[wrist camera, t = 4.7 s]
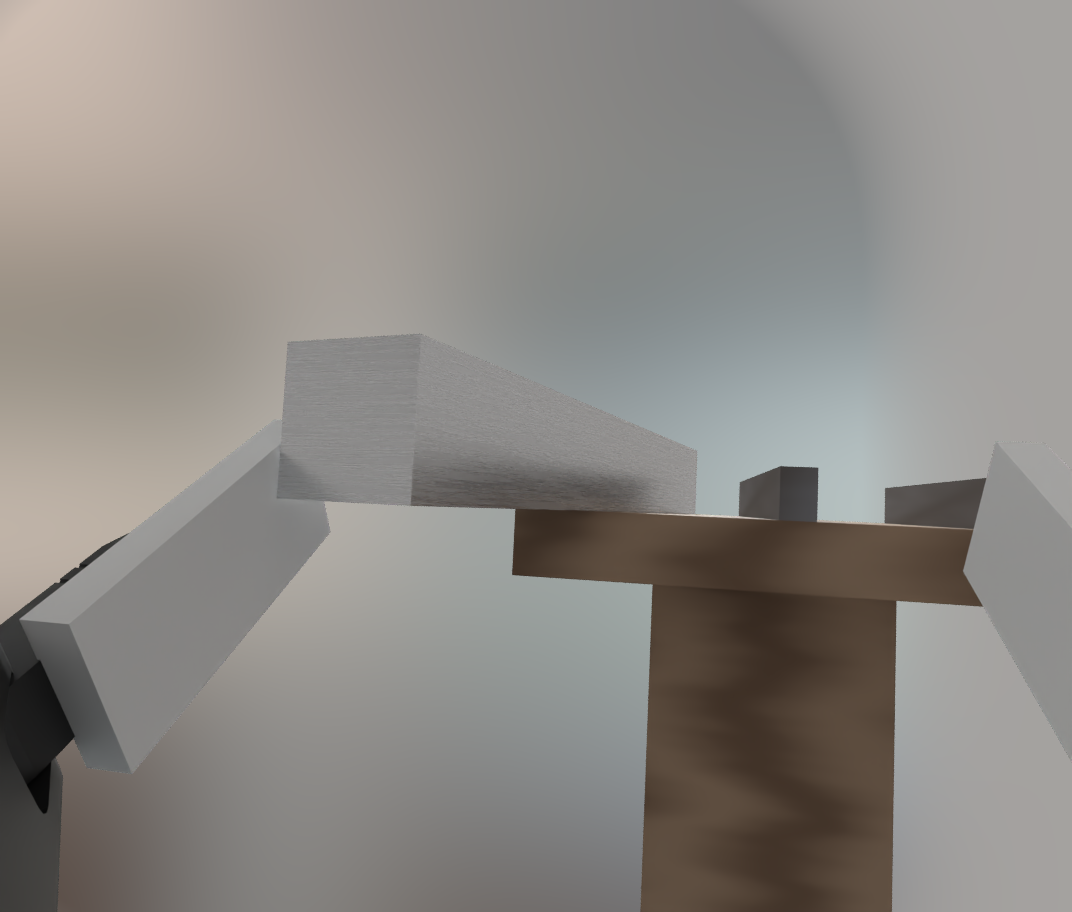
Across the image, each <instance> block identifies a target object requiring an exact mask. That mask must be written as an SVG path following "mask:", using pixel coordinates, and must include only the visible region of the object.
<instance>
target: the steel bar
mask: <svg viewBox="0 0 1072 912" xmlns="http://www.w3.org/2000/svg"><path fill="white" fill-rule="evenodd" d="M696 468H697V451H696V450H693V449H691V448H689V447H686V446H684V445H682V444H679V443H677V442H675V441H672V440H670V439H667V438H665V437H663V436H661V435H658V434H656V433H653V432H651V431H649V430H646V429H644V428H642V427H639V426H637V425H634V424H632V423H630V422H628V421H625V420H623V419H620V418H618V417H616V416H613V415H611V414H609V413H606V412H604V411H601V410H599V409H597V408H594V407H592V406H590V405H587V404H585V403H583V402H580V401H578V400H576V399H573V398H571V397H568V396H566V395H564V394H561V393H559V392H557V391H554V390H552V389H550V388H547V387H545V386H543V385H540V384H538V383H536V382H533V381H531V380H528V379H526V378H524V377H521V376H519V375H517V374H514V373H512V372H510V371H507V370H505V369H503V368H500V367H498V366H495V365H493V364H491V363H488V362H486V361H484V360H481V359H479V358H477V357H474V356H472V355H469V354H467V353H465V352H462V351H460V350H458V349H455V348H453V347H451V346H448V345H446V344H444V343H441V342H439V341H436V340H434V339H432V338H429V337H427V336H424V335H422V334H410V335H393V336H377V337H361V338H344V339H327V340H311V341H295V342H288V348H287V361H286V376H285V389H284V403H283V417H282V431H281V445H280V459H279V474H278V488H277V499H295V500H313V501H332V502H351V503H369V504H370V503H371V504H388V505H407V506H437V507H472V508H506V509H540V510H574V511H609V512H643V513H677V514H695V499H696V470H697V469H696Z"/></svg>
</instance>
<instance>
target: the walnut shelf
mask: <svg viewBox="0 0 1072 912" xmlns="http://www.w3.org/2000/svg"><path fill="white" fill-rule="evenodd" d="M985 482H986V478H982V479H972V480H963V481H952V482H942V483H932V484H922V485H913V486H903V487H893V488H885V523H865V522H844V521H824V520H817V502H818V468H812V467H811V468H810V467H784V466H780V467H778V468H775V469H773V470H770V471H767V472H765V473H763V474H760V475H757V476H755V477H752V478H750V479H747V480H745V481H742V482H740V496H739V516H721V515H700V514H677V513H643V512H609V511H574V510H540V509H516V511H515V529H514V549H513V550H514V551H513V569H512V575H520V576H535V577H549V578H565V579H579V580H594V581H611V582H624V583H639V584H653V590H652V615H651V642H650V643H651V645H650V669H649V696H648V699H649V700H648V724H647V750H646V778H645V780H646V781H645V804H644V831H643V833H644V834H643V859H642V886H641V912H892V861H893V860H892V859H893V858H892V857H893V795H894V729H895V725H894V723H895V663H896V660H895V659H896V601H908V602H922V603H923V602H924V603H937V604H938V603H939V604H953V605H968V606H982V607H983V605H982V604H981V602H980V600H979V598H978V597H977V595H976V593H975V591H974V590H973V588H972V586H971V584H970V583H969V581H968V579H967V577H966V576H965V574H964V572H963V570H964V566H965V562H966V558H967V554H968V550H969V546H970V542H971V538H972V534H973V530H974V526H975V522H976V518H977V514H978V510H979V506H980V502H981V498H982V494H983V490H984V486H985Z"/></svg>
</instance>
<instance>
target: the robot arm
mask: <svg viewBox="0 0 1072 912" xmlns="http://www.w3.org/2000/svg"><path fill="white" fill-rule="evenodd" d="M281 431H282V420H273V421H272V422H271V423H269V424H268V425H267V426H265V427H264V428H263V429H262V430H260V431H259V432H258V433H256V434H255V435H254V436H253V437H251V438H250V439H249V440H248V441H246V442H245V443H244V444H242V445H241V446H240V447H239V448H237V449H236V450H235V451H234V452H232V453H231V454H230V455H229V456H227V457H226V458H225V459H223V460H222V461H221V462H219V463H218V464H217V465H216V466H215V467H213V468H212V469H211V470H209V471H208V472H207V473H205V474H204V475H203V476H202V477H200V478H199V479H198V480H197V481H195V482H194V483H193V484H191V485H190V486H189V487H188V488H186V489H185V490H184V491H183V492H181V493H180V494H179V495H177V496H176V497H175V498H174V499H172V500H171V501H170V502H168V503H167V504H166V505H165V506H163V507H162V508H161V509H159V510H158V511H157V512H156V513H155V514H153V515H152V516H151V517H149V518H148V519H147V520H145V521H144V522H143V523H142V524H140V525H139V526H138V527H137V528H135V529H134V530H133V531H131V532H130V533H128V534H126V535H124V536H122V537H120V538H118V539H116V540H114V541H112V542H110V543H108V544H106V545H104V546H102V547H101V548H100V549H99V550H97V551H96V552H94V553H93V554H92V555H91V556H89V557H88V558H87V559H85V560H84V561H83V562H82V563H80V566H79V568H74V569H72V570H71V571H70V572H69V573H67V574H66V575H65V576H64V577H62V578H61V579H60V583H54V584H53V585H52V586H50V587H49V588H48V589H46V590H45V591H44V592H43V593H41V594H40V595H39V596H37V597H36V598H35V599H34V600H32V601H31V602H30V603H28V604H27V605H26V606H24V607H23V608H22V609H21V610H19V611H18V612H17V613H15V614H14V615H13V616H11V617H10V618H9V619H7V620H6V621H5V622H4V623H2V624H1V625H0V912H57V906H58V881H59V857H60V832H61V807H62V781H63V775H62V772H61V769H60V766H59V764H58V762H57V760H56V758H55V757H56V756H57V755H58V754H59V753H60V752H61V751H62V750H63V749H64V748H65V747H66V746H67V745H68V744H69V742H70V741H71V740H72V739H73V738H74V740H75V743H76V744H77V747H78V749H79V751H80V753H81V756H82V758H83V760H84V762H85V764H86V767H87V768H93V769H100V770H107V771H114V772H122V773H129V774H132V773H133V772H134V771H135V770H136V768H137V767H138V766H139V765H140V764H141V762H142V761H143V760H144V759H145V757H146V756H147V755H148V754H149V753H150V751H151V750H152V749H153V748H154V747H155V745H156V744H157V743H158V742H159V741H160V739H161V738H162V737H163V736H164V734H165V733H166V732H167V731H168V729H169V728H170V727H171V726H172V725H173V723H174V722H175V721H176V720H177V719H178V717H179V716H180V715H181V714H182V713H183V711H184V710H185V709H186V708H187V706H188V705H189V704H190V703H191V702H192V700H193V699H194V698H195V697H196V695H197V694H198V693H199V692H200V691H201V689H202V688H203V687H204V686H205V684H206V683H207V682H208V681H209V680H210V678H211V677H212V676H213V675H214V674H215V672H216V671H217V670H218V669H219V667H220V666H221V665H222V664H223V663H224V661H225V660H226V659H227V658H228V656H229V655H230V654H231V653H232V652H233V650H234V649H235V648H236V646H237V645H238V644H239V643H240V642H241V641H242V639H243V638H244V637H245V636H246V634H247V633H248V632H249V631H250V630H251V628H252V627H253V626H254V625H255V624H256V622H257V621H258V620H259V619H260V618H261V616H262V615H263V613H265V611H266V610H267V609H268V608H269V607H270V605H271V604H272V603H273V602H274V600H275V599H276V598H277V597H278V596H279V594H280V593H281V592H282V591H283V589H284V588H285V587H286V586H287V585H288V583H289V582H290V581H291V580H292V579H293V577H294V576H295V575H296V574H297V572H298V571H299V570H300V569H301V568H302V566H303V565H304V564H305V563H306V561H307V560H308V559H309V558H310V557H311V555H312V554H313V553H314V552H315V550H316V549H317V548H318V547H319V546H320V544H321V543H322V542H323V541H324V539H325V538H326V537H327V536H328V535H329V533H330V528H329V523H328V518H327V513H326V508H325V504H324V501H313V500H295V499H277V488H278V474H279V459H280V445H281ZM963 572H964V574H965V576H966V577H967V579H968V581H969V583H970V584H971V586H972V588H973V590H974V591H975V593H976V595H977V597H978V598H979V600H980V602H981V604H982V605H983V607H984V609H985V611H986V613H987V614H988V616H989V618H990V619H991V621H992V623H993V625H994V626H995V628H996V630H997V632H998V634H999V635H1000V637H1001V639H1002V641H1003V642H1004V644H1005V646H1006V648H1007V649H1008V651H1009V653H1010V655H1011V656H1012V658H1013V660H1014V662H1015V663H1016V665H1017V667H1018V669H1019V670H1020V672H1021V674H1022V676H1023V678H1024V679H1025V681H1026V683H1027V684H1028V686H1029V688H1030V690H1031V692H1032V693H1033V695H1034V697H1035V699H1036V700H1037V702H1038V704H1039V706H1040V707H1041V709H1042V711H1043V713H1044V714H1045V716H1046V718H1047V719H1048V721H1049V723H1050V725H1051V727H1052V729H1053V730H1054V732H1055V734H1056V736H1057V737H1058V739H1059V741H1060V743H1061V744H1062V746H1063V748H1064V750H1065V751H1066V753H1067V755H1068V757H1069V758H1070V760H1071V762H1072V470H1071V469H1070V468H1069V467H1068V466H1067V465H1066V464H1065V463H1064V462H1063V461H1062V460H1061V459H1060V458H1059V457H1058V456H1057V455H1056V454H1055V453H1054V452H1053V451H1052V450H1051V449H1050V448H1049V447H1048V446H1047V445H1046V444H1045V443H1032V442H1031V443H1030V442H999V441H997V442H995V446H994V450H993V454H992V458H991V462H990V466H989V470H988V474H987V478H986V482H985V486H984V490H983V494H982V498H981V502H980V506H979V510H978V514H977V518H976V522H975V526H974V530H973V534H972V538H971V542H970V546H969V550H968V554H967V558H966V562H965V566H964V570H963Z"/></svg>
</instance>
